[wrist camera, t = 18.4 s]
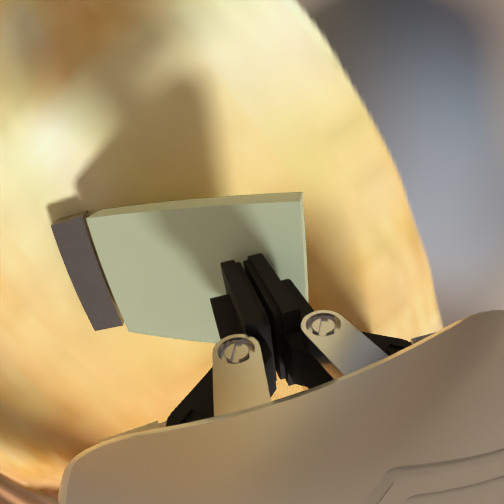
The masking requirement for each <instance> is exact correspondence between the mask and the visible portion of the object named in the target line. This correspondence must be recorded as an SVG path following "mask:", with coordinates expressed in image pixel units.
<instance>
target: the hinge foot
mask: <svg viewBox="0 0 504 504" xmlns="http://www.w3.org/2000/svg"><path fill="white" fill-rule="evenodd" d="M87 217H89V216H88V213H87V211H85V212H81V213H78V214H75V215H72V216H68V217H65V218H62V219H59V220H57V221H56V222H54V223H53V224H52V225H51V228H52V231H53V234H54V236H55V239H56V242H57V245H58V248H59V250H60V253H61V256H62V258H63V261H64V264H65V266H66V269H67V271H68V274H69V276H70V278H71V281H72V283H73V285H74V288H75V290H76V292H77V295H78V297H79V299H80V301H81V303H82V306H83V308H84V310H85V312H86V314H87V316H88V318H89V320H90V322H91V324H92V326H93V328H94V330H95V331H97V330H102V329H107V328H112V327H117V326H122V325H123V323H124V319H123V317H122V315H121V313H120V310H119V308H118V306H117V303H116V301H115V299H114V296H113V294H112V291H111V289H110V286H109V284H108V281H107V278H106V276H105V273H104V271H103V268H102V265H101V262H100V260H99V257H98V254H97V251H96V248H95V245H94V242H93V239H92V236H91V233H90V230H89V227H88V223H87V220H86V218H87Z"/></svg>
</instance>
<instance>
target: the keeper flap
mask: <svg viewBox="0 0 504 504" xmlns="http://www.w3.org/2000/svg"><path fill="white" fill-rule="evenodd" d="M86 220H87V223H88V227H89V230H90V233H91V236H92V239H93V242H94V245H95V248H96V251H97V254H98V257H99V260H100V262H101V265H102V268H103V271H104V273H105V276H106V278H107V281H108V284H109V286H110V289H111V291H112V294H113V296H114V299H115V301H116V303H117V306H118V308H119V310H120V313H121V315H122V317H123V319H124V322H125V324H126V326H127V328H128V331H129V332H134V333H140V334H146V335H153V336H160V337H167V338H174V339H182V340H190V341H198V342H208V343H218V342H219V341H220V337H219V333H218V329H217V325H216V322H215V318H214V314H213V310H212V306H211V302H210V298H214V297H218V296H222V295H226V289H225V285H224V280H223V275H222V270H221V265H220V263H221V262H225V261H229V260H234V261H235V263H236V262H240V263H241V265H242V267H243V269H244V263H243V261H245V260H248V256H250V255H255V254H259V253H262V254H263V256H264V257H265V258H266V260H267V261H268V263H269V264H270V266H271V267H272V268H273V270H274V271H275V273H276V274H277V276H278V277H279V278H280V280H284V279H290V280H291V281H292V282H293V283H294V285H295V286H296V287H297V289H298V290H299V291H300V293H301V294H302V295H303V297H304V298H305V299H306V301H307V302H308V274H307V253H306V235H305V219H304V205H303V192H292V193H271V194H253V195H238V196H224V197H211V198H199V199H188V200H178V201H168V202H158V203H149V204H140V205H132V206H124V207H116V208H109V209H101V210H99V211H97V212H96V213H94V214H92V215H91V216H89V217H87V218H86ZM308 303H309V302H308Z"/></svg>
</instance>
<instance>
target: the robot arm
mask: <svg viewBox="0 0 504 504" xmlns="http://www.w3.org/2000/svg"><path fill="white" fill-rule="evenodd" d="M243 263H244V269H243V267H242V265H241V263H240V262H236V263H235V261H234V260H229V261H225V262H221V263H220V265H221V270H222V275H223V280H224V285H225V289H226V295H222V296H218V297H214V298H210V302H211V306H212V310H213V314H214V318H215V322H216V325H217V329H218V333H219V337H220V341H219V342H218V343H216V345H215V347H214V348H213V353H212V360H213V367H212V368H211V369H210V370H209V372H208V373H207V374H206V375H205V376H204V377H203V378H202V380H201V381H200V382H199V383H198V384H197V385H196V386H195V387H194V389H193V390H192V391H191V392H190V393H189V394H188V395H187V396H186V397H185V398H184V400H183V401H182V402H181V403H180V404H179V405H178V406H177V407H176V408H175V409H174V411H173V412H172V413H171V414H170V416H169V417H168V419H167V421H165V422H162V423H158V421H155V422H152V423H150V424H147V425H144V426H141V427H138V428H135V429H132V430H129V431H126V432H123V433H120V434H117V435H114V436H110V437H107V438H105V439H103V440H101V441H100V442H99V443H98V444H96V445H94V446H92V447H90V448H88V449H86V450H84V451H82V452H81V453H79V454H78V455H76V456H75V457H74V458H73V459H72V460H71V461H70V462H69V463H68V465H67V467H66V468H65V471H64V473H63V476H62V479H61V484H60V489H59V495H58V504H504V310H490V311H483V312H479V313H476V314H473V315H470V316H468V317H466V318H463V319H461V320H459V321H457V322H455V323H453V324H451V325H449V326H447V327H445V328H443V329H441V330H440V331H438V332H435V333H431V334H428V335H424V336H420V337H416V338H413V339H411V341H410V342H408V341H406V340H403V339H399V338H393V337H387V336H382V335H376V334H371V333H366V332H360V331H359V330H358V329H357V328H356V327H354V326H353V325H352V324H351V323H350V322H349V321H347V320H346V319H345V318H344V317H343V316H341V315H340V314H338V313H337V312H334V311H330V310H318V311H314V310H313V309H312V307H311V306H310V305H309V303H308V302H307V301H306V299H305V298H304V297H303V295H302V294H301V293H300V291H299V290H298V289H297V287H296V286H295V285H294V283H293V282H292V281H291V280H290V279H284V280H280V278H279V277H278V276H277V274H276V273H275V271H274V270H273V268H272V267H271V266H270V264H269V263H268V261H267V260H266V258H265V257H264V256H263V254H262V253H259V254H255V255H250V256H248V260H245V261H243ZM275 369H276V370H275ZM276 372H277V374H278V376H279V378H280V379H284V378H285V379H286V381H287V383H288V385H289V386H290V385H293V384H298V385H301V386H303V390H304V391H302V392H299V393H296V394H293V395H290V396H287V397H284V398H281V399H278V400H274V401H271V399H270V398H271V396H272V395H273V393H274V392H275V390H276V381H277V378H276Z"/></svg>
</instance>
